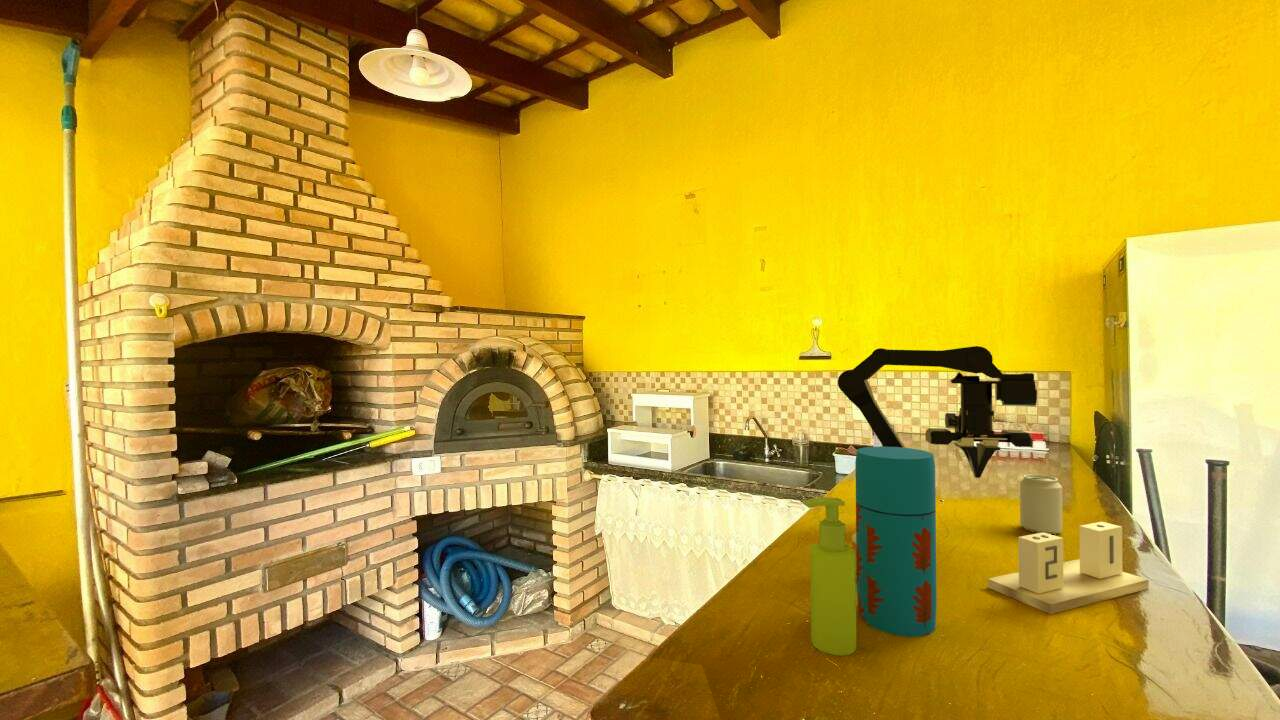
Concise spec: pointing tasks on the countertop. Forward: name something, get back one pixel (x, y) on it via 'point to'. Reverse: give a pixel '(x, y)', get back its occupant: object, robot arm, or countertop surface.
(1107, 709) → the countertop surface
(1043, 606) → the beige wooden board
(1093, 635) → the countertop surface
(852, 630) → the soap dispenser
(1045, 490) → the can
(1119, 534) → the cream numbered block 1
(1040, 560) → the cream numbered block 2
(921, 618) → the thermos
